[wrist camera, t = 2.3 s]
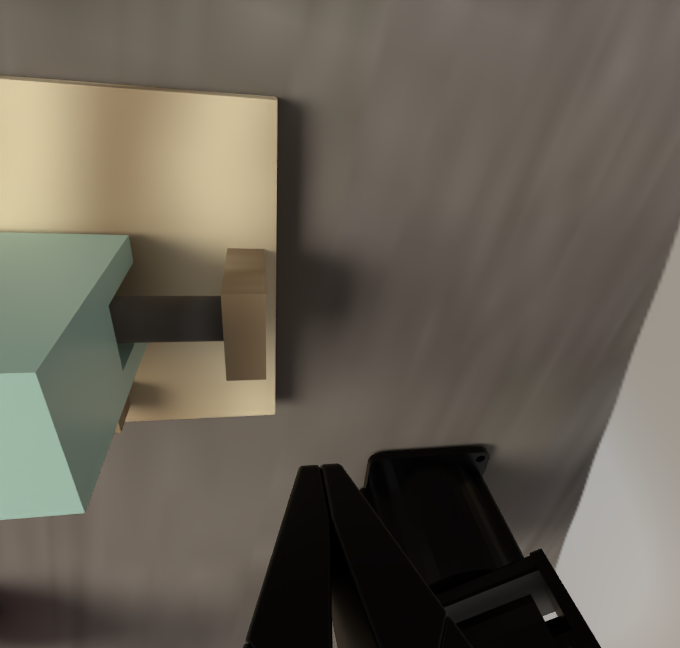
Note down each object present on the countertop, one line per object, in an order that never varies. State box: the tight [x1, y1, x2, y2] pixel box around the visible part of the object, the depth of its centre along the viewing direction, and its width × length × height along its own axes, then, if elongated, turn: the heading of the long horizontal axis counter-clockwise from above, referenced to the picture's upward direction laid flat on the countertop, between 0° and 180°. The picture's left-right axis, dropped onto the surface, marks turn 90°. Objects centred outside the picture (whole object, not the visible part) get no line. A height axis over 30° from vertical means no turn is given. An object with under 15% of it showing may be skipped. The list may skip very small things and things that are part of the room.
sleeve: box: [0, 232, 147, 520], centre depth 11 cm, size 5×4×7 cm
